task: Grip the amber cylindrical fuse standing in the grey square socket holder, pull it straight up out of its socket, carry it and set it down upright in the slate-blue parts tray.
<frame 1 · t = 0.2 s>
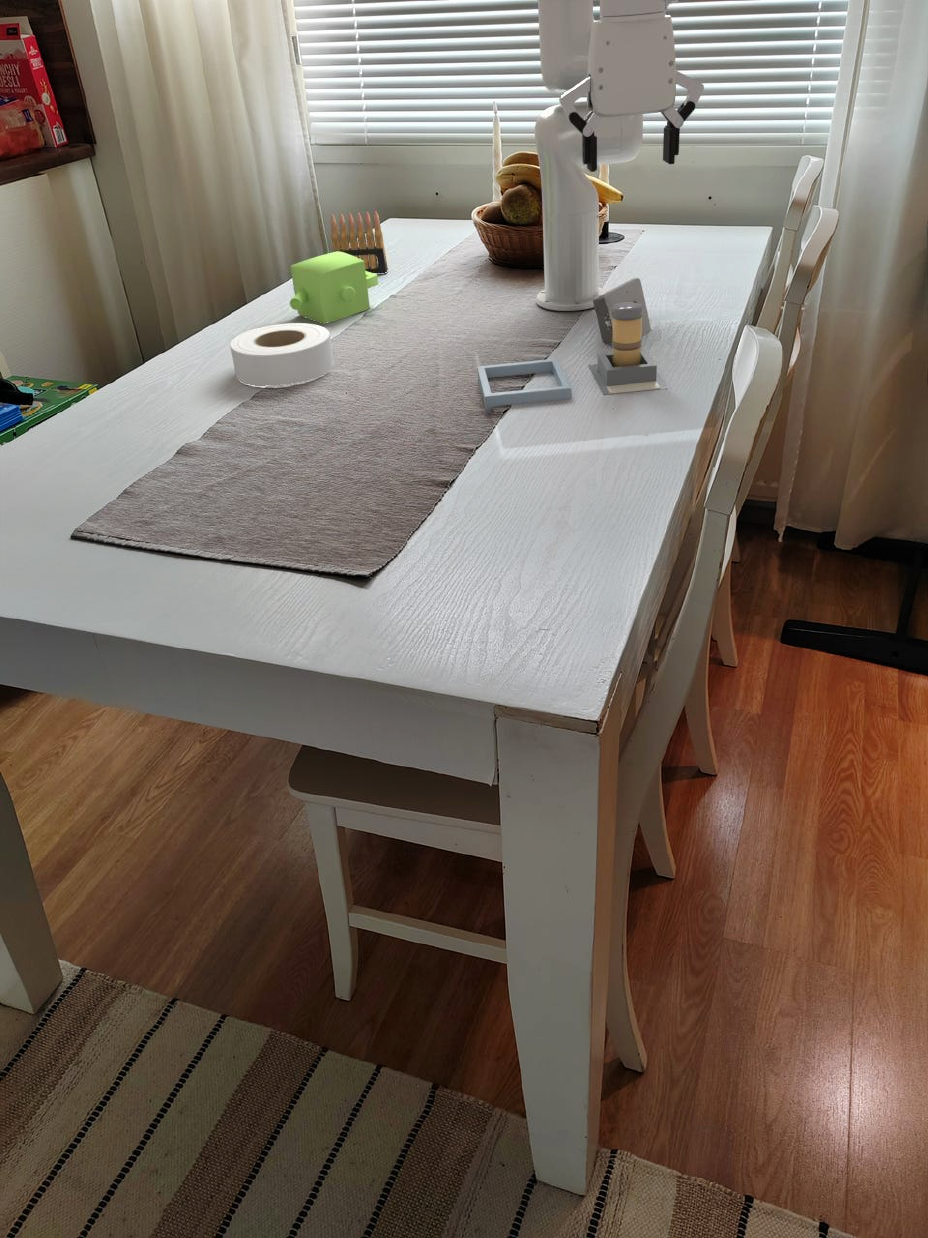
hand: (630, 166, 123), 30 cm above the table, tool pointing down, fingers open, 9 cm apart
grey square socket holder: (626, 382, 142), on the table
tray: (523, 393, 142), on the table
electrical switch: (622, 344, 157), on the table
gearbox: (333, 316, 181), on the table
roll of tape: (285, 372, 158), on the table
ammunition clip: (362, 275, 202), on the table
fuse: (626, 376, 142), point 1 cm above the table, touching grey square socket holder
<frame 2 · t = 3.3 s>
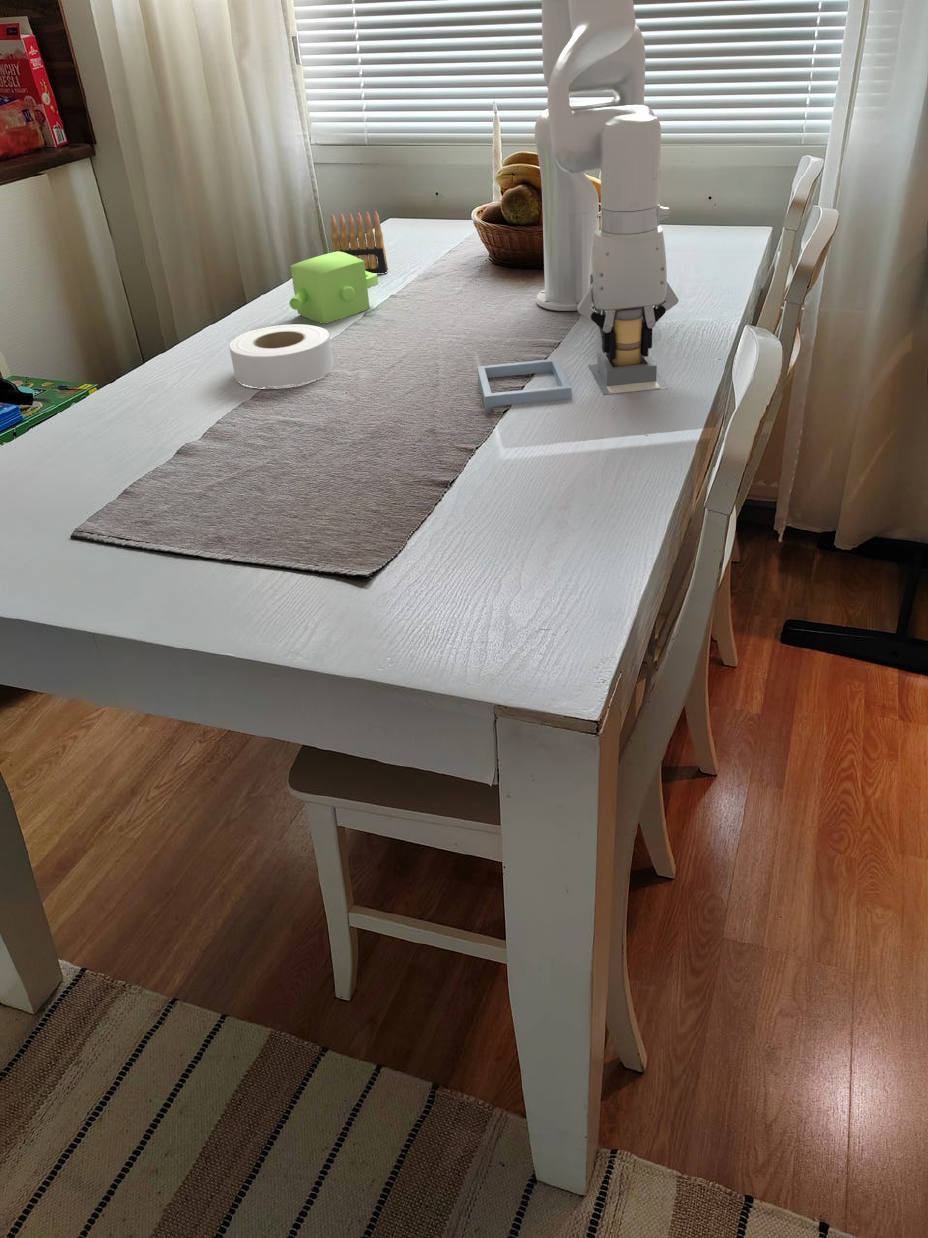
hand: (626, 353, 140), 4 cm above the table, tool pointing down, fingers closed on fuse, 4 cm apart
fuse: (626, 376, 142), point 1 cm above the table, touching grey square socket holder, gripper
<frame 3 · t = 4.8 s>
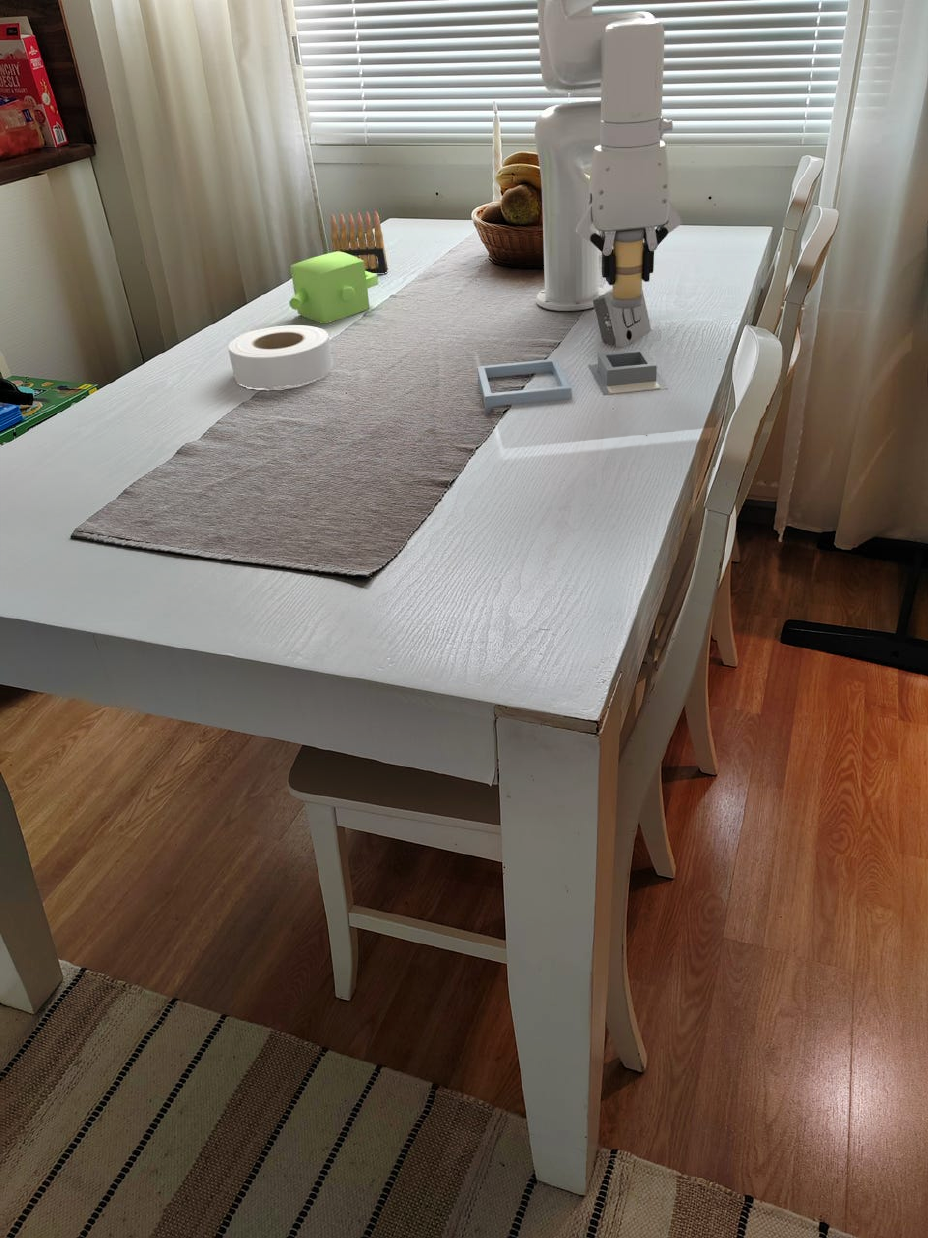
hand: (627, 279, 135), 15 cm above the table, tool pointing down, fingers closed on fuse, 4 cm apart
fuse: (626, 303, 136), point 11 cm above the table, touching gripper
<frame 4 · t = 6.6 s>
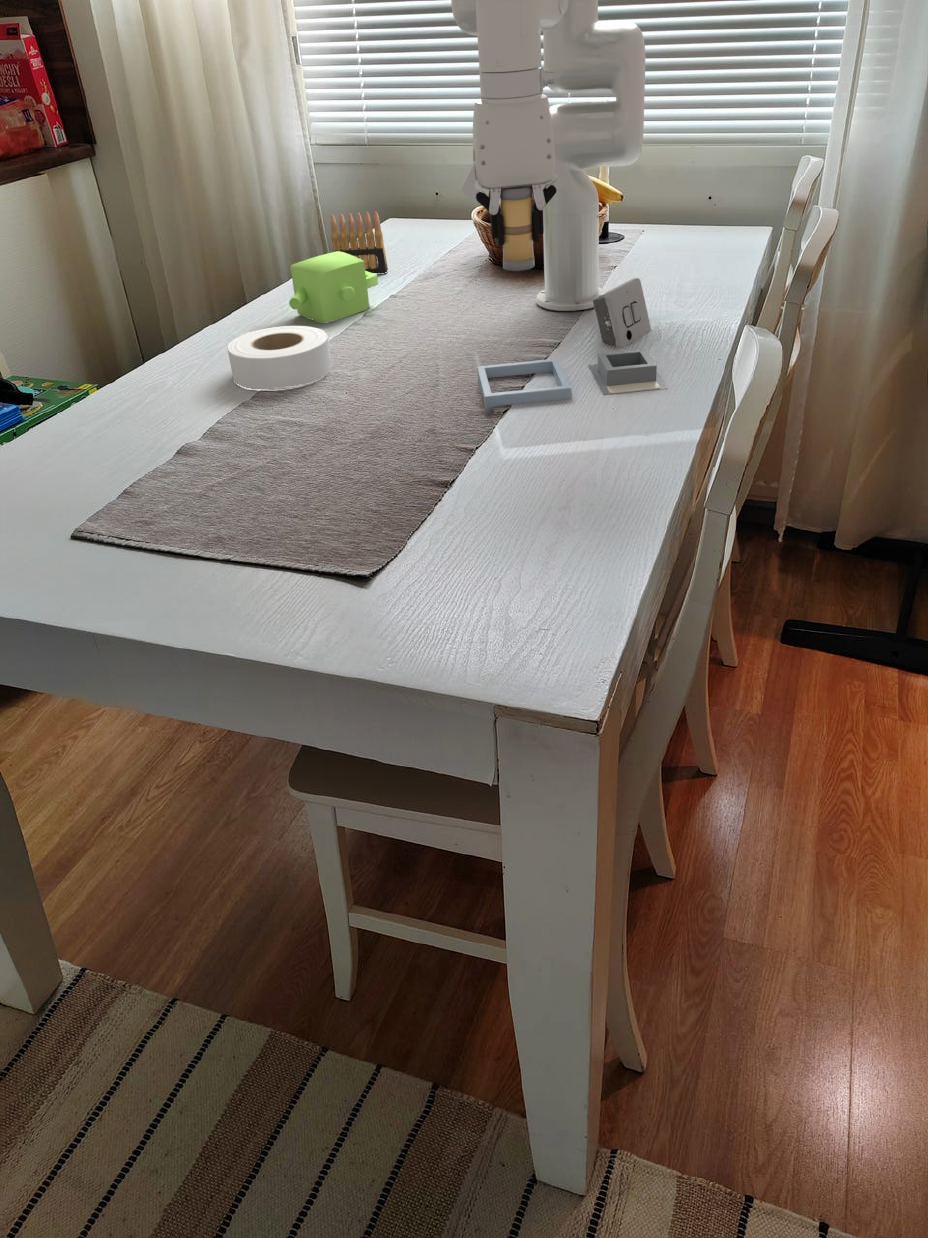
hand: (517, 240, 130), 21 cm above the table, tool pointing down, fingers closed on fuse, 4 cm apart
fuse: (518, 266, 132), point 18 cm above the table, touching gripper
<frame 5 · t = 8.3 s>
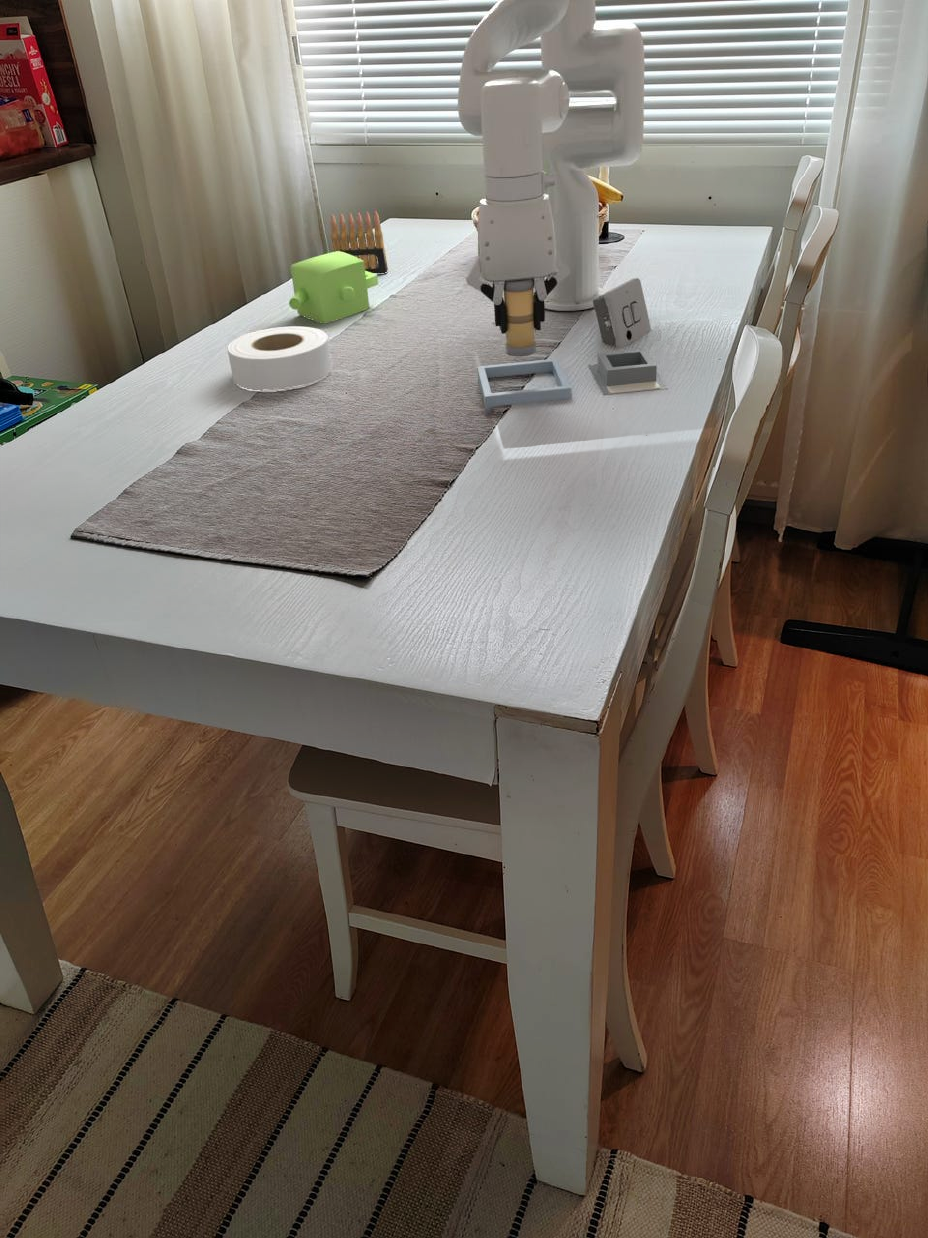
hand: (520, 327, 137), 10 cm above the table, tool pointing down, fingers closed on fuse, 4 cm apart
fuse: (521, 351, 138), point 6 cm above the table, touching gripper
when the fingers open (5 cm above the table, at t = 9.8 s): fuse stays where it is, resting on tray.
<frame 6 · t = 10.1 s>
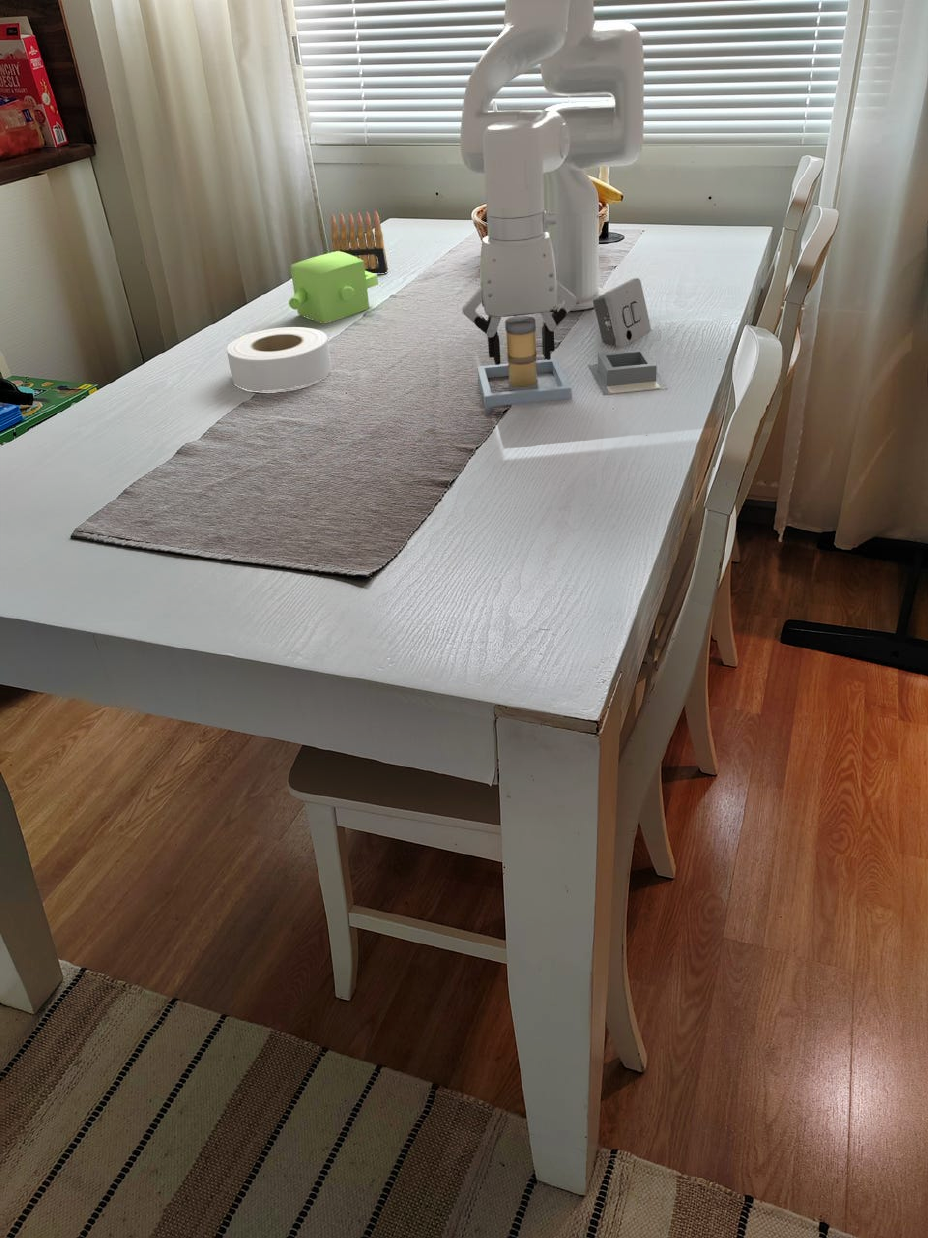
hand: (521, 357, 139), 5 cm above the table, tool pointing down, fingers open, 6 cm apart
fuse: (523, 389, 142), point 1 cm above the table, touching tray
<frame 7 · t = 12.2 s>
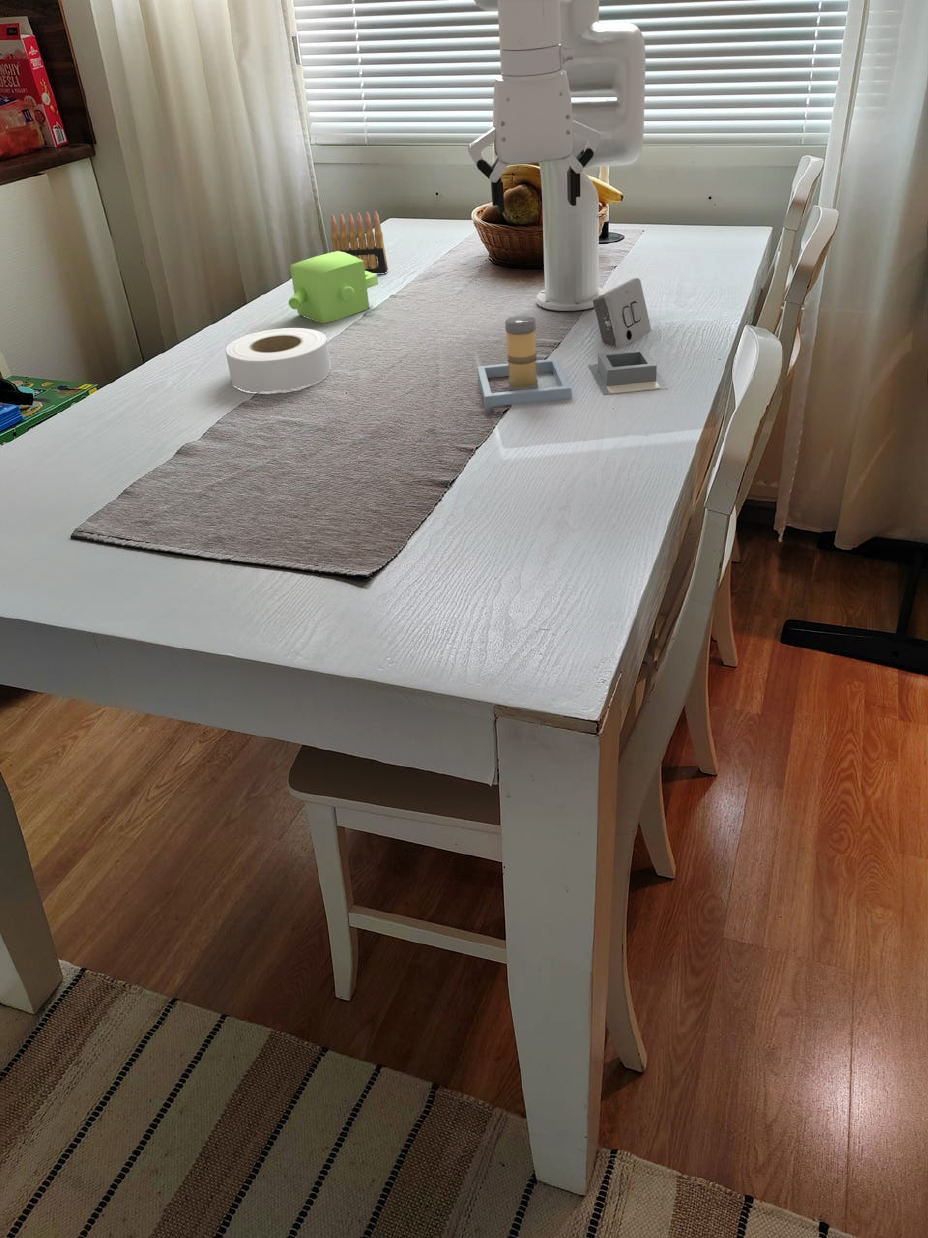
hand: (536, 207, 132), 24 cm above the table, tool pointing down, fingers open, 9 cm apart
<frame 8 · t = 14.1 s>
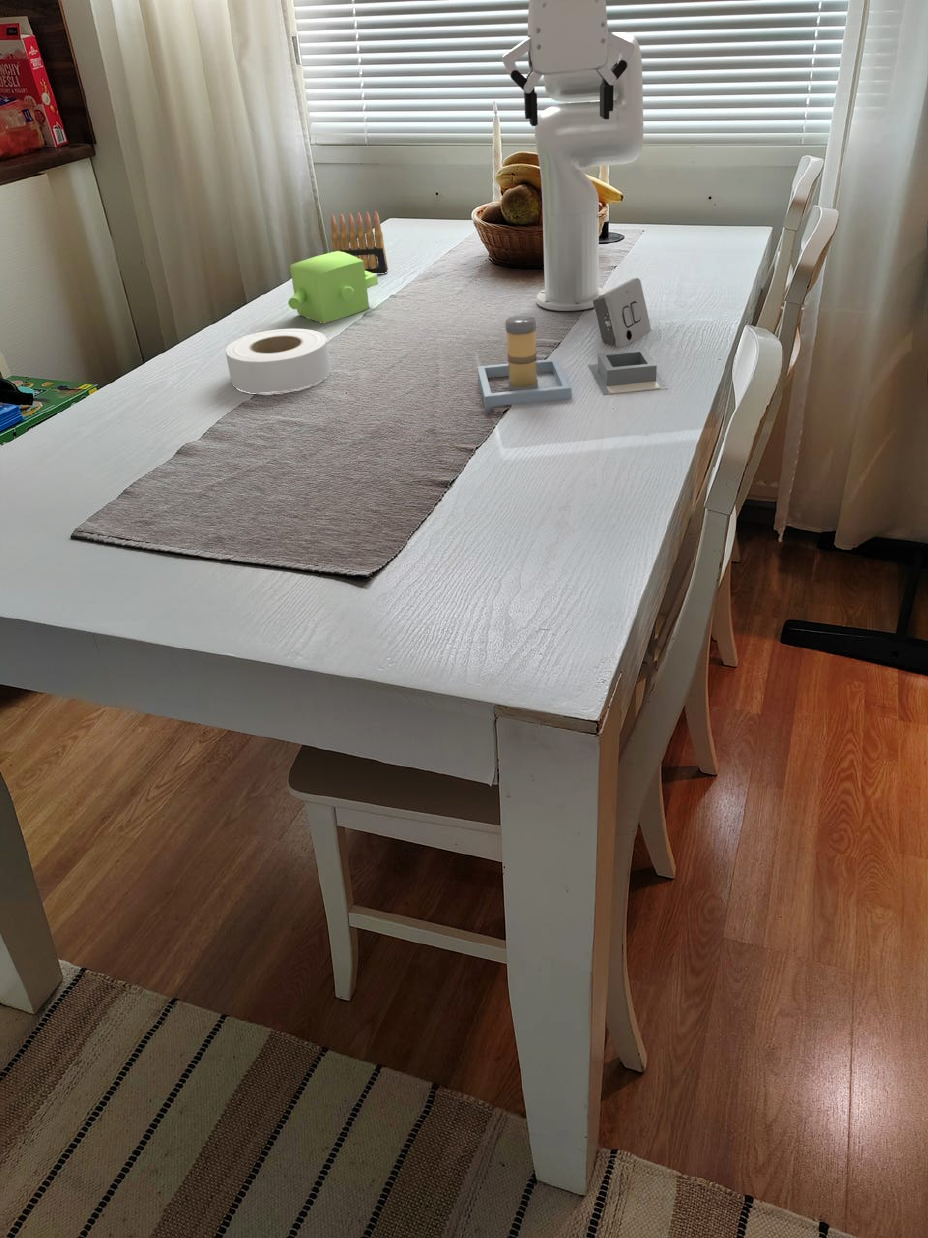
hand: (569, 121, 133), 33 cm above the table, tool pointing down, fingers open, 9 cm apart
at the end: fuse inside the target area on the tray (0.1 cm from its centre), point 0.6 cm above the tray's base; fuse tilted 0°; the gripper is holding nothing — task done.
